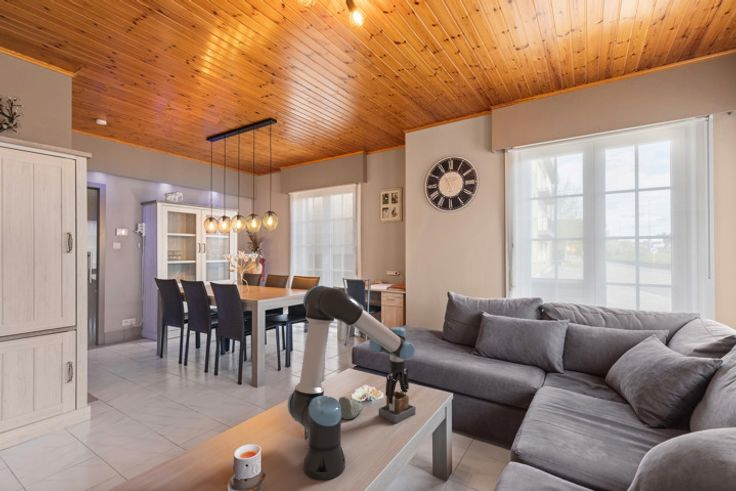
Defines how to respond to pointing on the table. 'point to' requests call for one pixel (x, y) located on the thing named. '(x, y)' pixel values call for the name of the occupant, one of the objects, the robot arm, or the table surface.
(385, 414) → the tray
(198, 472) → the table surface
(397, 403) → the walnut crate
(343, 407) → the decorative stone
